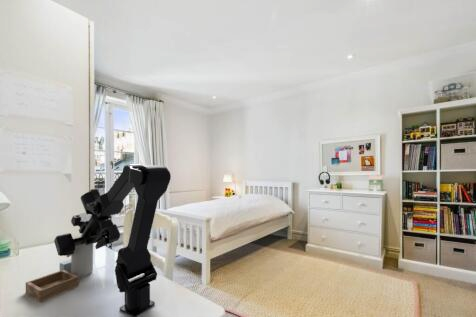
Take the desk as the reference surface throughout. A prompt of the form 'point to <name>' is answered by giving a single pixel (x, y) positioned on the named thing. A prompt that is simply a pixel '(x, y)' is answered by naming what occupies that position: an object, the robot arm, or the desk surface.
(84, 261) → the beverage can
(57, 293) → the tray
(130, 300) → the robot arm
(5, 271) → the desk surface
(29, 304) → the desk surface
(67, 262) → the block
